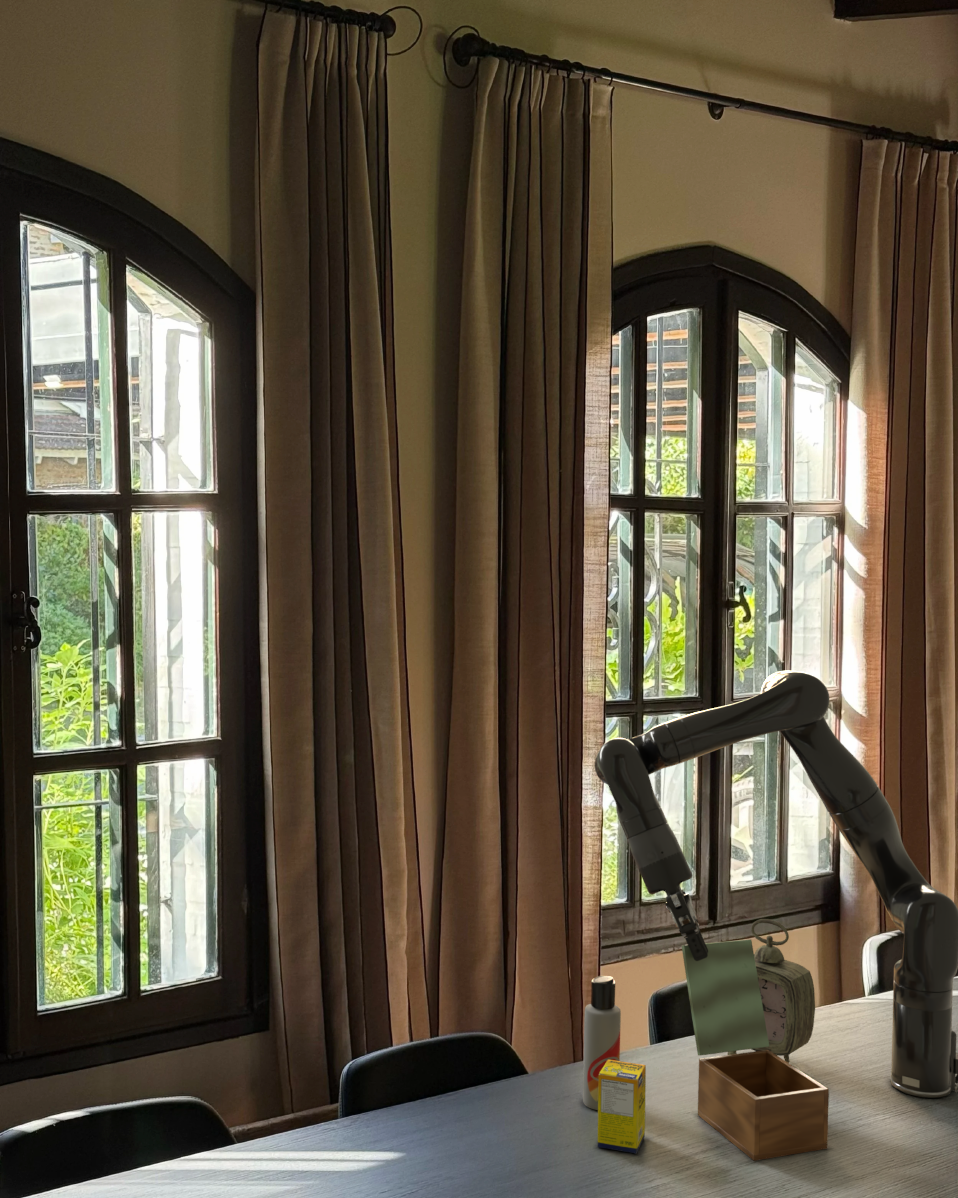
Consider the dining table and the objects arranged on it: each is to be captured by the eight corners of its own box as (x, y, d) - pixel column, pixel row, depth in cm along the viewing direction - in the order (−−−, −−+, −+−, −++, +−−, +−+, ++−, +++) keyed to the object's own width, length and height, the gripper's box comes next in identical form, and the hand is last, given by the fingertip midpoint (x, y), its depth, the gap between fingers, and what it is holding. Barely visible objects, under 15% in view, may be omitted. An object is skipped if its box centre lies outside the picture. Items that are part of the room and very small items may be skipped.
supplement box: (645, 1137, 176) (646, 1064, 176) (637, 1155, 170) (638, 1079, 170) (605, 1130, 178) (607, 1058, 178) (596, 1148, 172) (598, 1073, 172)
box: (827, 1149, 173) (829, 1089, 173) (754, 1161, 169) (755, 1100, 169) (766, 1104, 188) (768, 1049, 188) (697, 1115, 184) (698, 1058, 184)
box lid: (751, 939, 193) (748, 939, 194) (683, 945, 189) (681, 945, 189) (769, 1046, 188) (766, 1046, 188) (700, 1055, 183) (697, 1055, 184)
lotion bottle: (617, 1113, 184) (620, 985, 184) (580, 1109, 185) (583, 981, 185) (620, 1098, 189) (623, 973, 189) (584, 1094, 190) (587, 970, 190)
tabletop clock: (717, 1059, 206) (720, 916, 206) (742, 1045, 213) (745, 906, 213) (794, 1083, 197) (798, 933, 197) (818, 1067, 203) (821, 922, 203)
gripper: (679, 848, 181) (725, 951, 176) (682, 849, 194) (724, 945, 190) (634, 867, 181) (678, 970, 177) (640, 867, 195) (681, 963, 190)
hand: (702, 957), depth 183 cm, fingers open, 8 cm apart
